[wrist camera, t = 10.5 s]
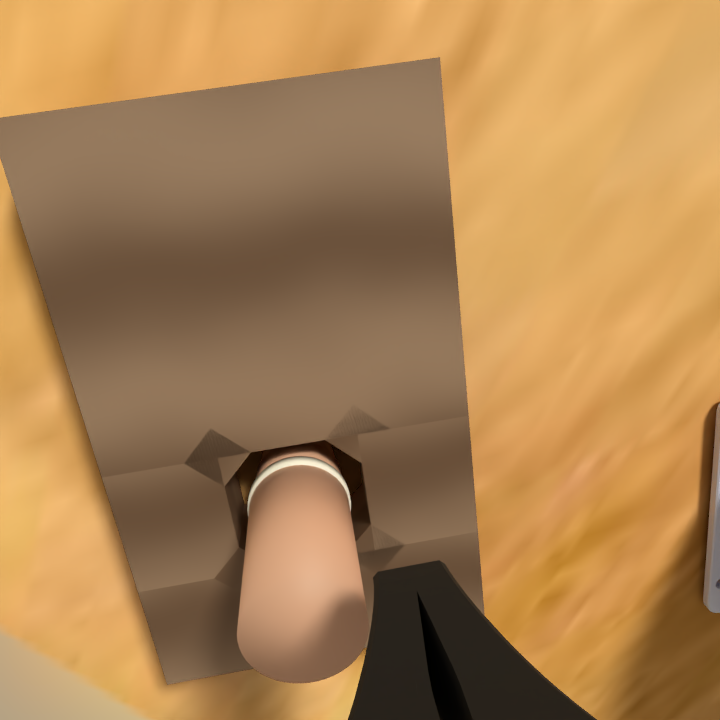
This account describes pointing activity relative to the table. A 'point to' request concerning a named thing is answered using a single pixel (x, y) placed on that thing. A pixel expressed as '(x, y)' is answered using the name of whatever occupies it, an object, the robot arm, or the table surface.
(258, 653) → the peg
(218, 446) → the board
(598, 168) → the table surface
